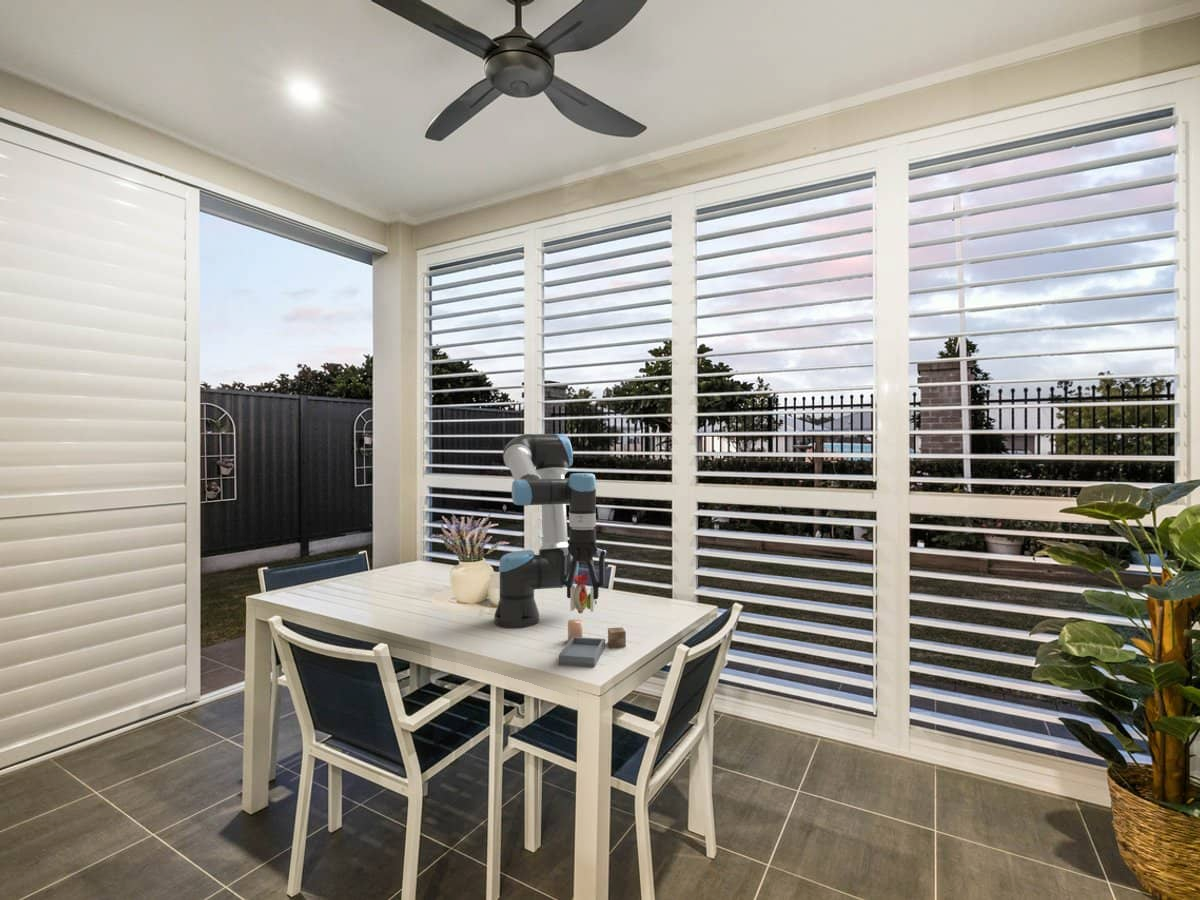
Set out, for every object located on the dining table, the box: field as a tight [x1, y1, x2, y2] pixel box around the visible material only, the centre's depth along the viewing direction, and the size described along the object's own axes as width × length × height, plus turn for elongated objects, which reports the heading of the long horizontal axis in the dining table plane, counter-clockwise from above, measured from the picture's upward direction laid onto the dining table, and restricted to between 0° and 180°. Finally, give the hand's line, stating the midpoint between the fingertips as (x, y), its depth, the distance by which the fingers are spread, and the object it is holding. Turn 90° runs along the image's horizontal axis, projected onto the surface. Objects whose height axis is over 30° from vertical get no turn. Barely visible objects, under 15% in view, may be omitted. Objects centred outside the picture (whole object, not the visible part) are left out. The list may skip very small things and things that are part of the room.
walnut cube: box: [607, 626, 627, 648], centre depth 177 cm, size 4×4×4 cm
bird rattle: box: [573, 572, 598, 614], centre depth 168 cm, size 6×11×9 cm
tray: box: [558, 636, 606, 668], centre depth 168 cm, size 10×16×2 cm, turn 169°
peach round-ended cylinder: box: [567, 618, 583, 643], centre depth 181 cm, size 4×4×6 cm
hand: (582, 609), depth 168 cm, fingers closed on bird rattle, 5 cm apart
